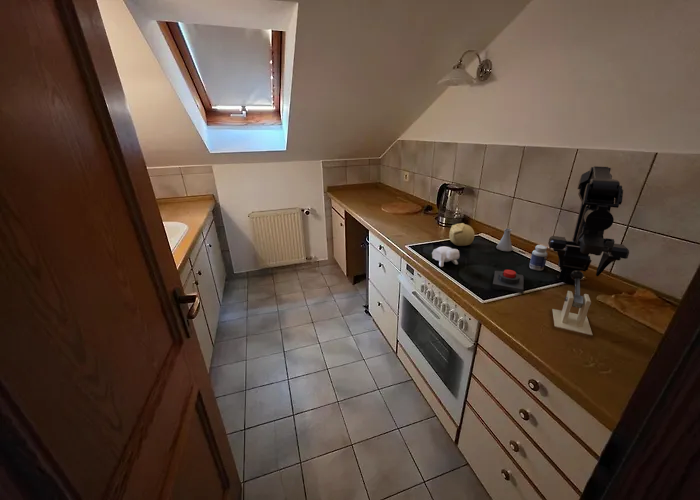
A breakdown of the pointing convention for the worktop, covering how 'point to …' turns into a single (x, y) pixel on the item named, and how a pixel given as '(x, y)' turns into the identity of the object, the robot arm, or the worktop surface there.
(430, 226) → the worktop surface
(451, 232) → the sculpture
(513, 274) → the button
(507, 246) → the flask
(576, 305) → the lever
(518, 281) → the button housing
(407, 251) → the worktop surface
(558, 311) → the beige u-shaped holder
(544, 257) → the pill bottle
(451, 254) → the white animal figurine
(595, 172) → the robot arm
